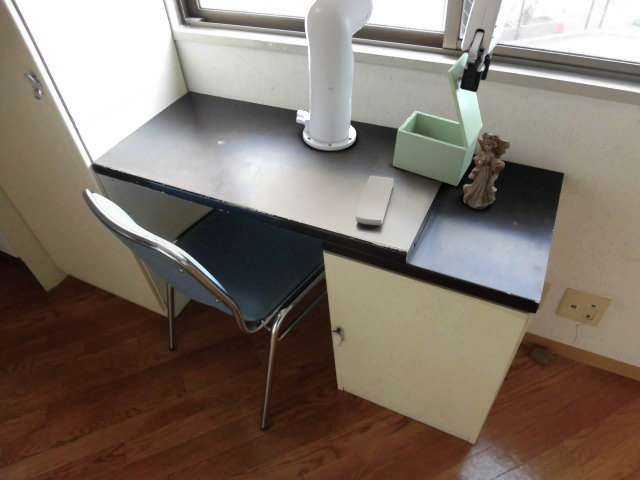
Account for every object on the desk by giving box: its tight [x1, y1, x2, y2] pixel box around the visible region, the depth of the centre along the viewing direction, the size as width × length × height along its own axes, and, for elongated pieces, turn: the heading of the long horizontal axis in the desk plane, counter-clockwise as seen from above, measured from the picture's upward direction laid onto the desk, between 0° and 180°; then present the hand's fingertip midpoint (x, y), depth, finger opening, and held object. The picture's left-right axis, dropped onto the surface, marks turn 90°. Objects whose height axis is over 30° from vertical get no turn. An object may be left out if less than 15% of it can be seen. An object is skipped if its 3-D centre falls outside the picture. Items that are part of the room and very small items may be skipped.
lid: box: [446, 52, 485, 148], centre depth 91 cm, size 15×10×4 cm
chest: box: [392, 110, 480, 187], centre depth 102 cm, size 15×10×9 cm
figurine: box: [462, 131, 511, 210], centre depth 91 cm, size 7×6×15 cm
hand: (473, 83), depth 90 cm, fingers closed on lid, 5 cm apart
